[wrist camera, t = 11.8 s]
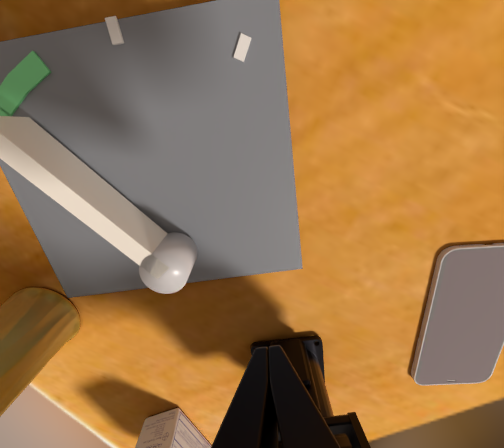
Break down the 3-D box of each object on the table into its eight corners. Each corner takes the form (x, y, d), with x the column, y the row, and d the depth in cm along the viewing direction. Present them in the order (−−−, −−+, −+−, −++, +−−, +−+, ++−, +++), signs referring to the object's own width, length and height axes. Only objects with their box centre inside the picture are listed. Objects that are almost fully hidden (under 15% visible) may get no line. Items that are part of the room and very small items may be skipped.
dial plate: (300, 261, 20) (302, 269, 19) (75, 290, 21) (66, 299, 20) (276, -5, 14) (278, -16, 13) (-40, 55, 15) (-63, 49, 14)
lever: (205, 251, 18) (197, 274, 16) (179, 275, 19) (167, 301, 16) (36, 105, 15) (-14, 101, 12) (12, 142, 16) (-41, 146, 13)
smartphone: (543, 243, 19) (489, 382, 24) (530, 238, 20) (481, 374, 25) (443, 249, 19) (411, 386, 25) (435, 243, 20) (406, 377, 25)
